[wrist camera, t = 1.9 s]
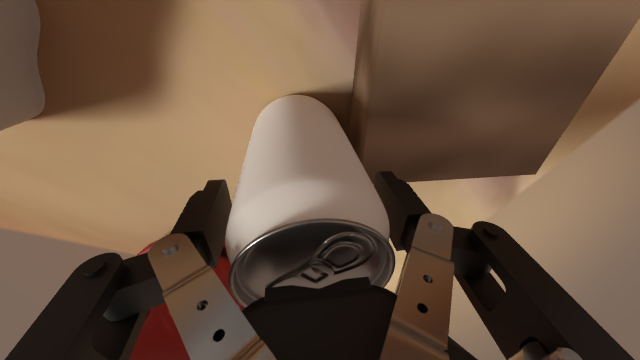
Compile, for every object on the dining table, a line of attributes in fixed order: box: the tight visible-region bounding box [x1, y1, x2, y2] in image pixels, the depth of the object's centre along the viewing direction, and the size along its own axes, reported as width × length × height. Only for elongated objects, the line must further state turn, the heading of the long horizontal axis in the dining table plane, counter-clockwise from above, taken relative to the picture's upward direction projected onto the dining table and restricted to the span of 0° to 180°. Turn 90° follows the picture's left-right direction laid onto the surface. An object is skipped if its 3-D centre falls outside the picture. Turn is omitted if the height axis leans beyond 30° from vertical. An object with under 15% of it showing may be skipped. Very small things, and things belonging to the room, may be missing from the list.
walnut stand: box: [348, 0, 640, 184], centre depth 14 cm, size 14×14×4 cm
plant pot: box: [129, 241, 244, 360], centre depth 19 cm, size 13×13×12 cm
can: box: [225, 95, 395, 308], centre depth 13 cm, size 6×6×12 cm
